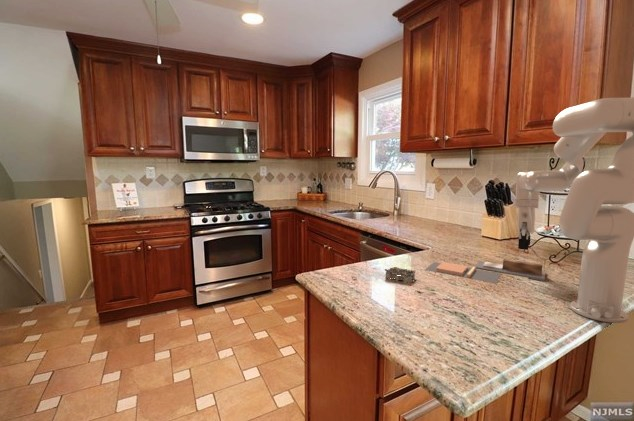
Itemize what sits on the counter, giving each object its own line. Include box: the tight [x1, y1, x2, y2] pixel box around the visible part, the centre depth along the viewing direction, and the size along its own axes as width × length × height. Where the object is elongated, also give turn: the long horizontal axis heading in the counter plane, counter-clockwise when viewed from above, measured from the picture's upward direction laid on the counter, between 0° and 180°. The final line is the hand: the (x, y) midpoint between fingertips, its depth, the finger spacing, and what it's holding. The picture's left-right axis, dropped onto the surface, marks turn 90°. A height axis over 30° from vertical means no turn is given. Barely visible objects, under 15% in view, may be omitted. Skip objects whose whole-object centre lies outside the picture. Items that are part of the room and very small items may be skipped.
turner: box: [483, 258, 544, 275], centre depth 126 cm, size 20×6×4 cm, turn 52°
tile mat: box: [424, 261, 502, 284], centre depth 125 cm, size 13×26×2 cm, turn 52°
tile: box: [436, 261, 469, 276], centre depth 127 cm, size 10×1×10 cm
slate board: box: [473, 260, 546, 282], centre depth 126 cm, size 10×24×1 cm, turn 52°
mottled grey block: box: [384, 266, 417, 283], centre depth 120 cm, size 11×8×4 cm
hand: (524, 247), depth 121 cm, fingers open, 9 cm apart
